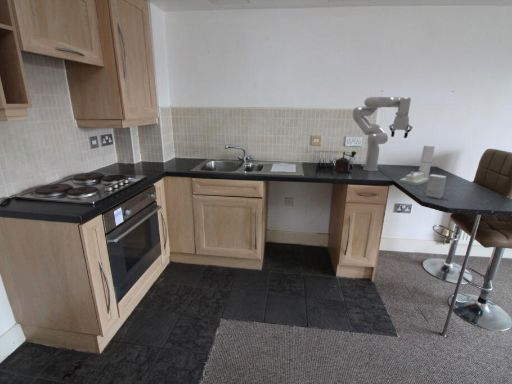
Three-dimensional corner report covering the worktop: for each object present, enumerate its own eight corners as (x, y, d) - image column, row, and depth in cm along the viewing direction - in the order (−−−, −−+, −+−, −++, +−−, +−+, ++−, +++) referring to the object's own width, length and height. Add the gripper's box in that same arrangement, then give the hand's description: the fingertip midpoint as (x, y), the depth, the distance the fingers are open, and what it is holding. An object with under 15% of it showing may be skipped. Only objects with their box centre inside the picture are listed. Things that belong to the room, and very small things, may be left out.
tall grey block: (422, 179, 217) (429, 146, 210) (415, 176, 224) (421, 145, 217) (430, 178, 219) (436, 146, 212) (422, 176, 226) (429, 145, 219)
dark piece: (334, 171, 237) (336, 149, 232) (337, 169, 247) (339, 148, 241) (353, 173, 230) (356, 151, 225) (355, 171, 240) (358, 150, 235)
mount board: (399, 182, 206) (401, 171, 204) (411, 177, 220) (413, 167, 218) (416, 185, 198) (419, 174, 195) (428, 181, 211) (430, 170, 209)
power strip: (405, 180, 204) (406, 175, 203) (416, 176, 217) (417, 171, 216) (412, 181, 200) (413, 176, 199) (423, 177, 213) (424, 173, 212)
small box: (442, 196, 173) (447, 176, 169) (440, 198, 169) (444, 177, 165) (427, 193, 178) (431, 173, 175) (425, 195, 174) (429, 175, 170)
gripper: (388, 114, 217) (385, 136, 222) (412, 114, 204) (408, 138, 209) (393, 114, 222) (389, 136, 226) (416, 114, 209) (412, 138, 214)
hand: (398, 137), depth 218 cm, fingers open, 9 cm apart
